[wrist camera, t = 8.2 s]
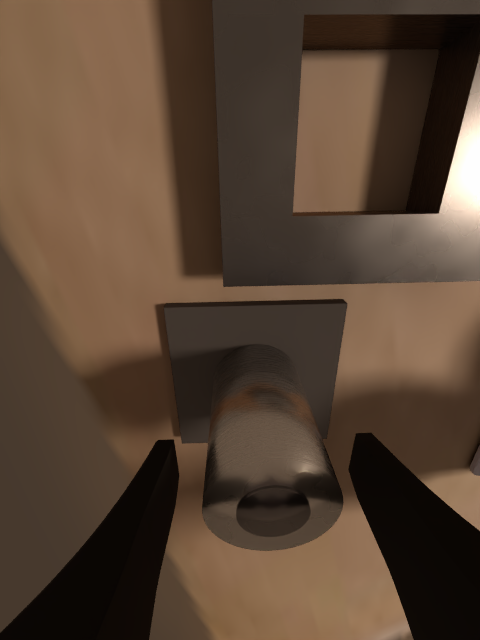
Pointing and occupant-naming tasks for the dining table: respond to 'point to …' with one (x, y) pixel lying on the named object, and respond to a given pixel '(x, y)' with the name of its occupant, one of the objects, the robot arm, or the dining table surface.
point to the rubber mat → (245, 329)
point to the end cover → (266, 456)
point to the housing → (281, 140)
